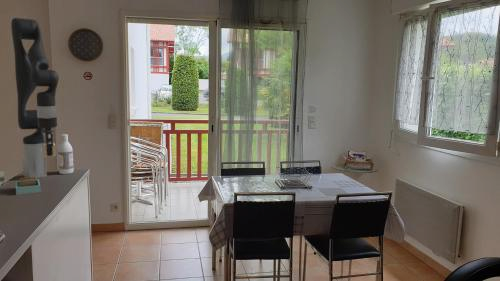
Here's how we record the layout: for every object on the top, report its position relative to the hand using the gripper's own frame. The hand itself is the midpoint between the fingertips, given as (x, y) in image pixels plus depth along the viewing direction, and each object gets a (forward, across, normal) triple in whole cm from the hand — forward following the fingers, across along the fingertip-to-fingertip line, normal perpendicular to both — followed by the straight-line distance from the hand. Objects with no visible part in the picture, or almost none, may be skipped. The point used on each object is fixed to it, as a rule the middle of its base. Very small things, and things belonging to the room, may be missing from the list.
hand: (49, 154), depth 170 cm
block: (+15, +1, -9) cm, 17 cm away
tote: (+15, +1, -9) cm, 18 cm away
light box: (+1, 0, 0) cm, 1 cm away
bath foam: (+16, -27, +9) cm, 33 cm away
